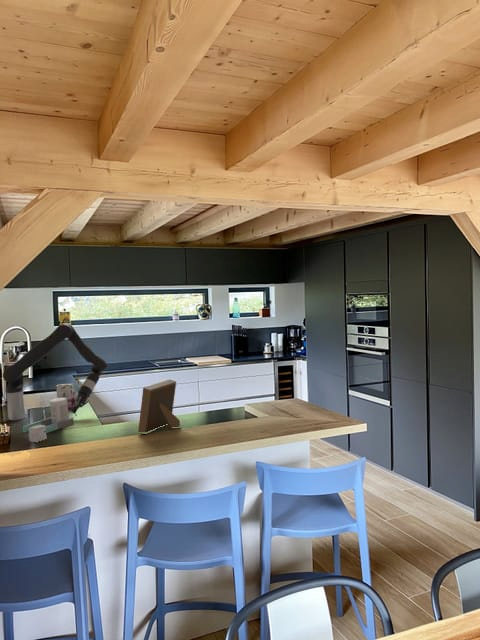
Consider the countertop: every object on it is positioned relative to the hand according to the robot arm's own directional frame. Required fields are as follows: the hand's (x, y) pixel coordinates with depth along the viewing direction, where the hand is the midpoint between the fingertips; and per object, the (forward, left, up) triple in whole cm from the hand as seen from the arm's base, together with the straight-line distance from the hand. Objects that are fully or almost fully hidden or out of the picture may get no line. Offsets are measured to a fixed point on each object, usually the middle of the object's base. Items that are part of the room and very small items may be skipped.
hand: (73, 412), depth 286 cm
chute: (0, -17, -4) cm, 18 cm away
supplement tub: (0, -9, -5) cm, 11 cm away
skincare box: (+15, -35, -5) cm, 39 cm away
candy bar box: (-30, +20, -5) cm, 36 cm away
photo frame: (+69, +1, -5) cm, 69 cm away
